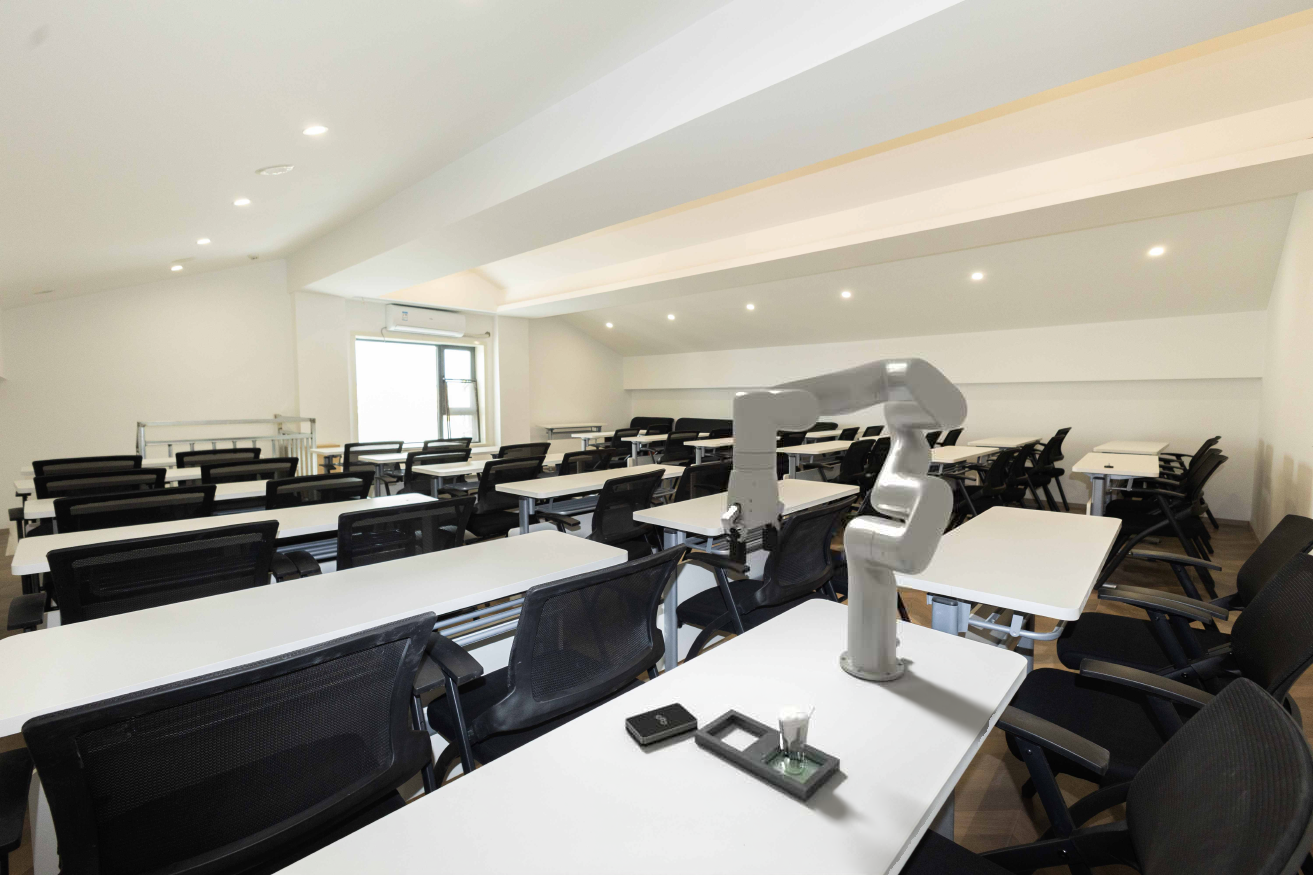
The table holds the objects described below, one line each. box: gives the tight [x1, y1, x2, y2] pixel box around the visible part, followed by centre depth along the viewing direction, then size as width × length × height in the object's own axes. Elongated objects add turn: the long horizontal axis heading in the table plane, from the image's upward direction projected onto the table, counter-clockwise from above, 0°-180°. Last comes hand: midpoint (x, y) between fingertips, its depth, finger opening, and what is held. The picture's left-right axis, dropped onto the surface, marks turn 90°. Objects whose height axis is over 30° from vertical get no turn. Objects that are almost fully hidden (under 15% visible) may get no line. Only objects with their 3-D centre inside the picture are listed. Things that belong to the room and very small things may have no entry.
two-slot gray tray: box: [694, 708, 841, 803], centre depth 94 cm, size 10×21×2 cm, turn 45°
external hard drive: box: [624, 702, 699, 748], centre depth 102 cm, size 7×11×2 cm, turn 119°
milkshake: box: [778, 706, 816, 774], centre depth 90 cm, size 4×5×10 cm
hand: (754, 556), depth 105 cm, fingers open, 9 cm apart
